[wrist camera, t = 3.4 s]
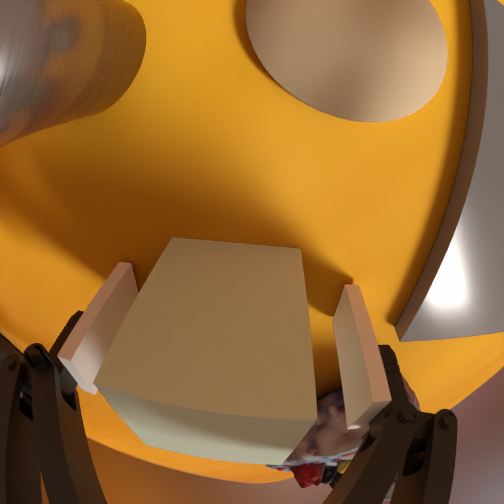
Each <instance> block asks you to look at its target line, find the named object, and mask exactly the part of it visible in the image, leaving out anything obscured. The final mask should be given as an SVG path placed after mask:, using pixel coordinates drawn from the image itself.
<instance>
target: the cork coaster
mask: <svg viewBox="0 0 504 504" xmlns="http://www.w3.org/2000/svg"><path fill="white" fill-rule="evenodd" d="M245 12H246V26H247V31H248V35H249V38H250V41H251V44H252V46H253V49H254V51H255V53H256V55H257V56H258V58H259V60H260V62H261V63H262V65H263V66H264V68H265V69H266V71H267V72H268V73H269V74H270V75H271V76H272V78H273V79H274V80H275V81H276V82H277V83H278V84H279V85H280V86H282V87H283V88H284V89H285V90H286V91H287V92H289V93H290V94H291V95H293V96H294V97H295V98H297V99H298V100H300V101H302V102H303V103H305V104H307V105H308V106H310V107H313V108H315V109H317V110H319V111H321V112H324V113H327V114H330V115H332V116H335V117H338V118H343V119H347V120H351V121H358V122H376V123H377V122H386V121H392V120H396V119H400V118H403V117H405V116H408V115H410V114H412V113H414V112H415V111H417V110H419V109H420V108H422V107H423V106H424V105H425V104H427V103H428V102H429V101H430V99H431V98H432V97H433V96H434V95H435V93H436V92H437V90H438V89H439V87H440V85H441V83H442V80H443V78H444V75H445V71H446V67H447V57H448V54H447V42H446V37H445V33H444V29H443V26H442V23H441V21H440V19H439V17H438V14H437V12H436V11H435V9H434V7H433V6H432V4H431V2H430V1H429V0H247V3H246V9H245Z"/></svg>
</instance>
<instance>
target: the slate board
mask: <svg viewBox="0 0 504 504" xmlns="http://www.w3.org/2000/svg"><path fill="white" fill-rule="evenodd" d="M469 1H470V9H471V20H472V37H473V69H472V86H471V98H470V107H469V114H468V121H467V128H466V134H465V139H464V144H463V149H462V154H461V159H460V163H459V167H458V171H457V175H456V179H455V183H454V186H453V190H452V193H451V197H450V200H449V203H448V206H447V210H446V213H445V216H444V219H443V222H442V224H441V227H440V230H439V233H438V235H437V238H436V241H435V243H434V246H433V248H432V251H431V253H430V256H429V258H428V260H427V263H426V265H425V267H424V270H423V272H422V274H421V276H420V279H419V281H418V283H417V285H416V287H415V289H414V291H413V293H412V295H411V297H410V299H409V301H408V303H407V305H406V307H405V309H404V311H403V313H402V315H401V317H400V318H399V320H398V322H397V324H396V326H395V330H396V333H397V336H398V338H399V341H400V342H407V341H425V340H439V339H450V338H461V337H470V336H478V335H485V334H492V333H499V332H504V6H503V5H502V4H501V3H500V2H498V1H497V0H469Z"/></svg>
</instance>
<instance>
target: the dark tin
mask: <svg viewBox="0 0 504 504" xmlns="http://www.w3.org/2000/svg"><path fill="white" fill-rule="evenodd" d="M145 47H146V30H145V25H144V21H143V19H142V17H141V15H140V13H139V12H138V11H137V9H136V8H134V7H133V6H132V5H131V4H129V3H127V2H125V1H123V0H0V147H1V146H3V145H6V144H8V143H10V142H13V141H15V140H18V139H20V138H23V137H25V136H28V135H31V134H33V133H36V132H39V131H42V130H45V129H48V128H51V127H54V126H57V125H60V124H63V123H67V122H70V121H74V120H77V119H81V118H85V117H89V116H93V115H96V114H98V113H100V112H102V111H104V110H106V109H107V108H109V107H110V106H112V105H113V104H114V103H115V102H116V101H117V100H118V99H120V98H121V96H122V95H123V94H124V93H125V92H126V91H127V89H128V88H129V86H130V85H131V84H132V82H133V80H134V78H135V77H136V75H137V73H138V71H139V68H140V66H141V63H142V60H143V57H144V53H145Z"/></svg>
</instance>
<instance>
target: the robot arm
mask: <svg viewBox="0 0 504 504" xmlns="http://www.w3.org/2000/svg"><path fill="white" fill-rule="evenodd" d="M138 293H139V292H138V288H137V284H136V280H135V276H134V272H133V268H132V263H126V262H119V263H118V265H117V266H116V267H115V269H114V270H113V271H112V273H111V274H110V275H109V277H108V278H107V279H106V281H105V282H104V284H103V285H102V286H101V288H100V289H99V291H98V292H97V294H96V295H95V296H94V298H93V299H92V301H91V302H90V304H89V305H88V307H87V308H86V310H85V311H84V312H83V311H78V312H76V313H75V314H74V315H73V316H72V317H71V318H70V319H69V321H68V322H67V324H66V326H65V327H64V329H63V330H62V332H61V333H60V335H59V336H58V338H57V340H56V341H55V343H54V344H53V346H52V348H51V349H50V351H49V353H48V352H47V350H46V349H45V347H44V346H43V345H42V344H40V343H34V344H31V345H30V346H28V347H27V348H26V350H25V351H24V353H23V355H22V354H21V353H20V352H19V351H18V350H17V349H16V348H15V347H13V346H12V345H11V344H10V343H9V342H8V341H7V340H6V339H5V338H3V337H2V336H1V335H0V504H42V495H41V474H40V472H41V473H42V477H43V482H44V486H45V489H46V493H47V497H48V500H49V503H50V504H107V502H106V499H105V497H104V494H103V492H102V489H101V486H100V483H99V480H98V478H97V474H96V471H95V468H94V465H93V461H92V458H91V454H90V451H89V446H88V443H87V438H86V434H85V430H84V425H83V420H82V415H81V409H80V404H79V397H78V393H77V390H76V386H77V384H78V385H79V386H80V387H81V388H82V390H84V391H87V392H90V393H92V394H95V395H96V392H97V390H98V389H97V387H96V386H95V385H94V383H93V381H94V379H95V377H96V375H97V373H98V371H99V369H100V366H101V364H102V362H103V360H104V358H105V356H106V354H107V352H108V350H109V348H110V346H111V344H112V342H113V340H114V338H115V336H116V334H117V332H118V330H119V328H120V326H121V325H122V323H123V321H124V319H125V317H126V315H127V313H128V312H129V310H130V308H131V306H132V304H133V302H134V301H135V299H136V297H137V295H138ZM332 324H333V330H334V335H335V341H336V347H337V354H338V360H339V367H340V374H341V381H342V388H343V396H344V404H345V413H346V422H347V429H357V428H364V427H365V426H366V425H367V424H368V423H369V429H370V430H369V431H367V432H366V433H365V434H364V435H363V436H362V437H361V438H360V439H361V440H362V439H363V441H362V443H361V445H360V447H359V448H358V450H357V452H356V454H355V455H354V457H353V459H352V460H351V462H350V464H349V465H348V467H347V469H346V470H345V472H344V473H343V475H342V476H341V478H340V479H339V481H338V482H337V484H336V485H335V487H334V488H333V490H332V491H331V493H330V494H329V495H328V497H327V498H326V500H325V501H324V502H323V504H382V502H383V500H384V499H385V497H386V495H387V493H388V491H389V489H390V487H391V485H392V483H393V482H394V480H395V477H396V475H397V478H396V483H395V487H394V490H393V494H392V498H391V501H390V504H448V503H449V499H450V493H451V487H452V482H453V474H454V467H455V457H456V444H457V418H456V416H455V414H454V413H453V412H452V411H451V410H448V409H442V410H440V411H438V412H437V413H436V414H432V413H426V412H421V411H418V410H417V409H416V407H415V406H414V405H412V404H411V403H409V400H408V398H407V394H406V390H405V386H404V382H403V379H402V375H401V372H400V368H399V365H398V362H397V358H396V355H395V353H394V351H393V350H392V349H391V347H390V346H389V345H378V344H377V341H376V337H375V334H374V331H373V327H372V324H371V321H370V318H369V314H368V311H367V308H366V305H365V302H364V299H363V296H362V293H361V290H360V287H359V285H351V284H345V286H344V289H343V292H342V295H341V298H340V300H339V303H338V306H337V309H336V312H335V315H334V317H333V320H332ZM397 473H398V474H397Z"/></svg>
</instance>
